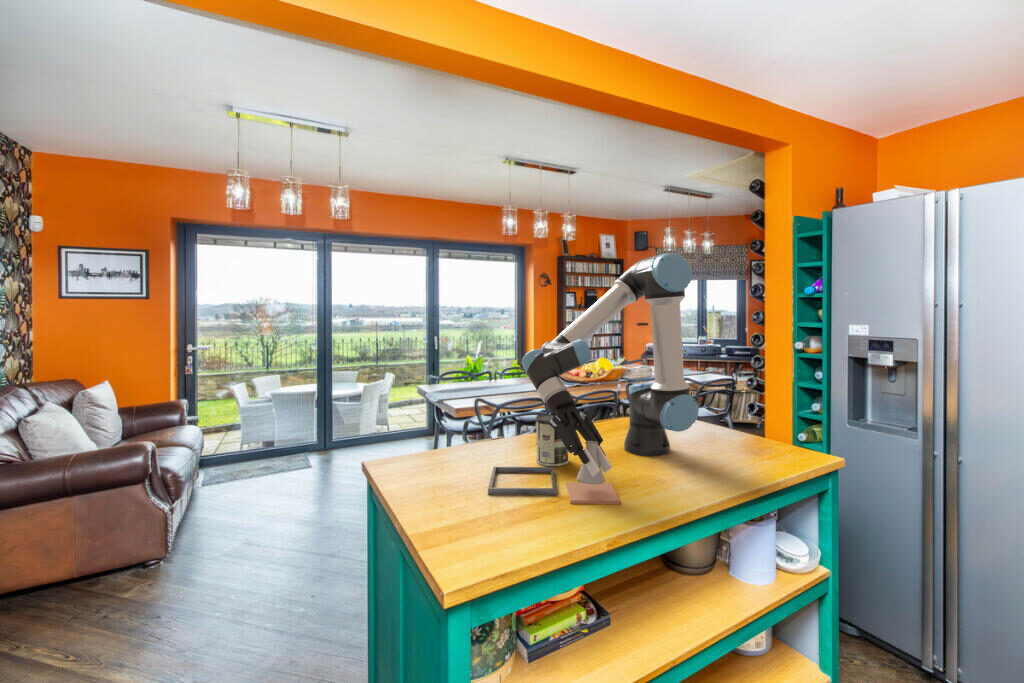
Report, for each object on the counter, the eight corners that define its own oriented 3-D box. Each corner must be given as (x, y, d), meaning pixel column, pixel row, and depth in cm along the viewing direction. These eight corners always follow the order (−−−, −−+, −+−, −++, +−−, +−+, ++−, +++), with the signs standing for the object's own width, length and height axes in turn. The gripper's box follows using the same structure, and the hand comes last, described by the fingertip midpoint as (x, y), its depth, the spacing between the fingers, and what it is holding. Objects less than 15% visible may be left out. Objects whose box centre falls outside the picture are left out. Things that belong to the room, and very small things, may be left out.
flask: (605, 478, 120) (606, 440, 119) (604, 486, 113) (605, 446, 112) (578, 475, 121) (578, 438, 121) (574, 483, 114) (575, 444, 114)
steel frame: (553, 472, 134) (553, 467, 134) (556, 495, 117) (556, 489, 117) (493, 471, 135) (493, 466, 135) (488, 494, 118) (487, 488, 118)
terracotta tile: (611, 485, 123) (611, 482, 123) (619, 503, 111) (619, 500, 111) (566, 485, 123) (566, 482, 123) (570, 503, 112) (570, 500, 111)
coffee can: (566, 456, 150) (566, 413, 149) (570, 466, 139) (570, 421, 139) (535, 456, 150) (535, 414, 149) (536, 466, 140) (536, 421, 139)
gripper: (570, 402, 133) (615, 472, 121) (526, 409, 123) (571, 487, 111) (584, 386, 129) (632, 457, 117) (540, 392, 118) (587, 471, 106)
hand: (602, 471), depth 114 cm, fingers closed on flask, 4 cm apart
